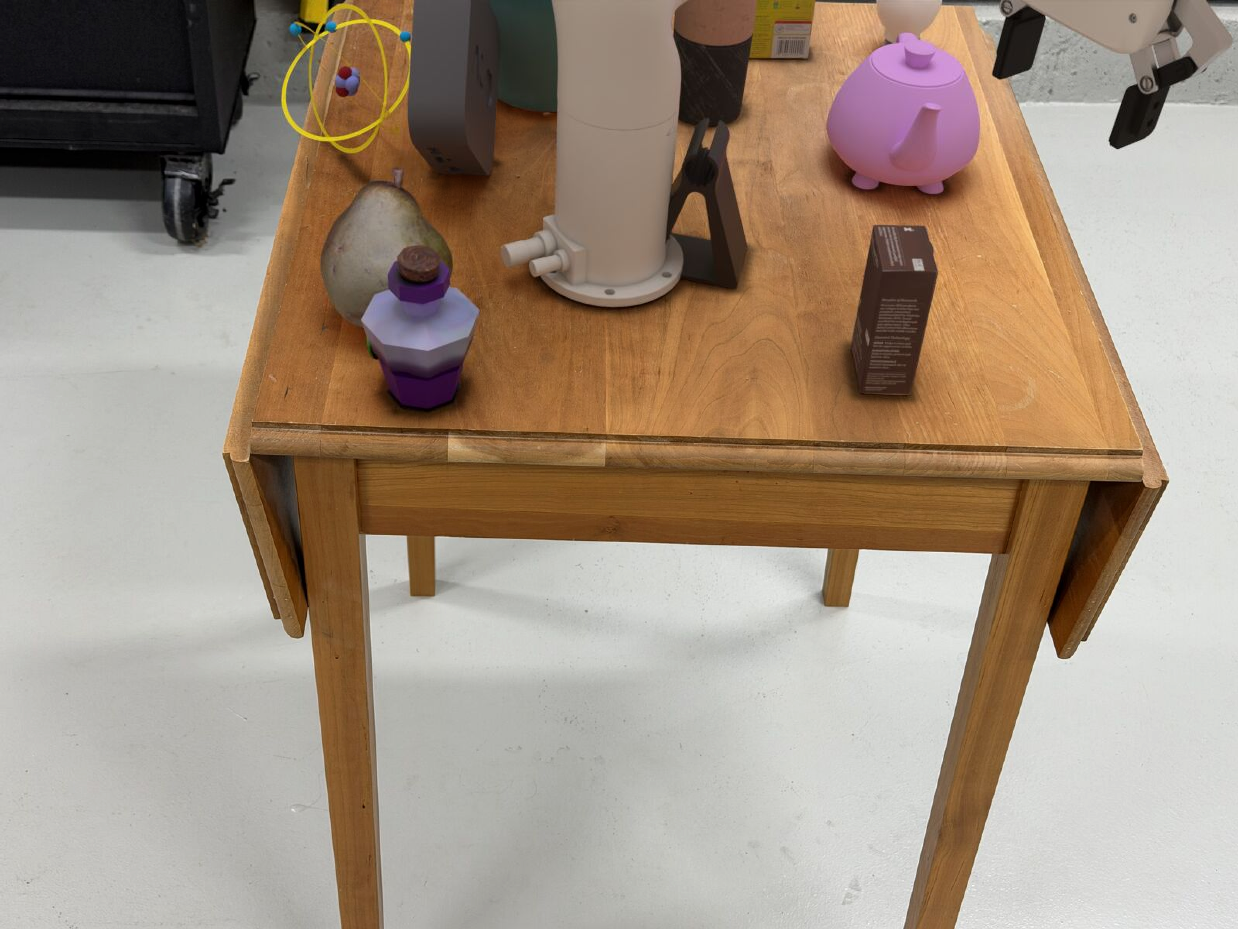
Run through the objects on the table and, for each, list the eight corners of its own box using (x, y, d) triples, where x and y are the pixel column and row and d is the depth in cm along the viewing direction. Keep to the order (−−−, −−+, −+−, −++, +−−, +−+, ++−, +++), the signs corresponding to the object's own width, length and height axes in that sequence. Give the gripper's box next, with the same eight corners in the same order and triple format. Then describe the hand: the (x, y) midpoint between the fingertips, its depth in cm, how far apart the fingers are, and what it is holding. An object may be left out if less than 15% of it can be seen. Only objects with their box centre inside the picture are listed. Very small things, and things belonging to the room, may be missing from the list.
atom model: (272, -40, 126) (251, 103, 134) (292, 22, 115) (267, 175, 122) (420, -11, 132) (391, 125, 139) (452, 51, 121) (419, 195, 128)
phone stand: (747, 250, 122) (768, 128, 114) (736, 289, 118) (758, 165, 110) (646, 231, 123) (660, 108, 115) (632, 269, 119) (646, 144, 111)
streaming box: (446, 28, 131) (501, 29, 131) (437, 180, 130) (492, 182, 130) (411, -36, 117) (472, -35, 116) (401, 135, 116) (462, 136, 115)
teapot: (984, 236, 126) (1019, 111, 117) (827, 225, 126) (850, 99, 117) (956, 123, 140) (985, 5, 132) (815, 113, 140) (835, -6, 132)
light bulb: (931, 73, 148) (954, -28, 140) (867, 67, 148) (886, -33, 141) (926, 43, 153) (947, -56, 145) (864, 38, 153) (882, -61, 145)
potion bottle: (362, 359, 109) (351, 226, 101) (472, 349, 111) (470, 218, 103) (372, 430, 103) (361, 295, 95) (489, 419, 104) (488, 285, 96)
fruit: (458, 283, 116) (454, 156, 108) (448, 354, 110) (443, 225, 101) (334, 277, 116) (320, 150, 108) (316, 349, 109) (300, 218, 101)
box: (845, 347, 113) (871, 221, 105) (901, 349, 113) (931, 224, 105) (854, 396, 109) (882, 268, 101) (912, 398, 109) (944, 271, 101)
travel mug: (745, 130, 137) (770, -72, 124) (667, 125, 137) (684, -77, 123) (741, 91, 143) (765, -106, 129) (666, 87, 143) (682, -111, 129)
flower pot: (654, 60, 146) (667, -104, 135) (611, 145, 134) (621, -27, 122) (489, 32, 149) (487, -131, 137) (431, 113, 136) (424, -59, 125)
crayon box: (803, 46, 151) (820, -60, 143) (808, 59, 149) (825, -48, 141) (735, 45, 150) (748, -62, 142) (739, 58, 148) (752, -49, 140)
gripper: (993, -213, 80) (929, 62, 92) (1244, -105, 70) (1136, 188, 82) (1080, -232, 84) (1007, 36, 95) (1331, -131, 74) (1216, 154, 86)
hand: (1067, 106), depth 89 cm, fingers open, 9 cm apart
